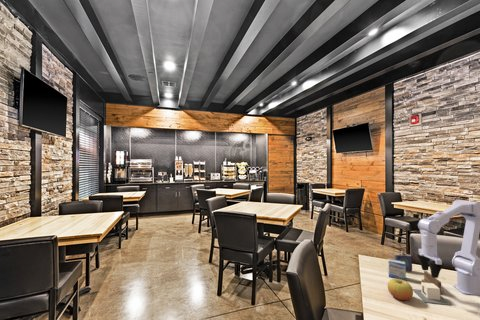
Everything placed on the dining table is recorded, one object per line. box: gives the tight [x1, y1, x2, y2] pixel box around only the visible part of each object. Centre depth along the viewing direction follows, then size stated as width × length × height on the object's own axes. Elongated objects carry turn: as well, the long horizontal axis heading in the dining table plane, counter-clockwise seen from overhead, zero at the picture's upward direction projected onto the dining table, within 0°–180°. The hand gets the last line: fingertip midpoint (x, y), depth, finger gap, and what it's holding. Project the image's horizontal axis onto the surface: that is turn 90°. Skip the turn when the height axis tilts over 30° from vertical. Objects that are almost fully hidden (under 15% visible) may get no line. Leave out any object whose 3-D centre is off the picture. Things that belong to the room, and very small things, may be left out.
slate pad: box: [412, 288, 452, 306], centre depth 108 cm, size 10×11×1 cm
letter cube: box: [420, 281, 441, 300], centre depth 108 cm, size 5×5×5 cm
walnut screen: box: [421, 270, 445, 296], centre depth 117 cm, size 3×13×6 cm, turn 168°
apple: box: [387, 278, 414, 301], centre depth 108 cm, size 10×10×8 cm
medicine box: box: [387, 258, 407, 281], centre depth 128 cm, size 8×4×9 cm, turn 58°
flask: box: [393, 250, 413, 273], centre depth 136 cm, size 9×3×11 cm, turn 76°
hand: (429, 273), depth 109 cm, fingers open, 7 cm apart
